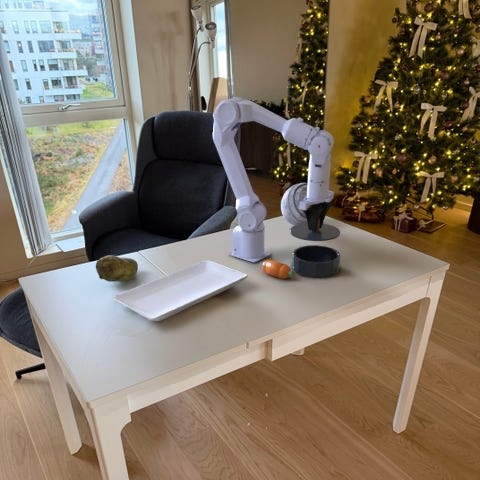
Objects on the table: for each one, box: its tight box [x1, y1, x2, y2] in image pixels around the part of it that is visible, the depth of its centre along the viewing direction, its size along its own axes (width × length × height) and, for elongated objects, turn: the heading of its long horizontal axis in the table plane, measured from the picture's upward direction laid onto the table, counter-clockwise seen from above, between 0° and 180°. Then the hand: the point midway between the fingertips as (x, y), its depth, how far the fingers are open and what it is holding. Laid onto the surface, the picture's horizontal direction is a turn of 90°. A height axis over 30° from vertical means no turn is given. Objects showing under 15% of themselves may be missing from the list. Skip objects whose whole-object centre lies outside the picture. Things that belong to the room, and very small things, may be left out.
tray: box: [113, 259, 249, 322], centre depth 113 cm, size 17×31×4 cm, turn 136°
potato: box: [95, 254, 139, 283], centre depth 121 cm, size 8×13×8 cm, turn 131°
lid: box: [289, 218, 341, 242], centre depth 126 cm, size 14×14×5 cm
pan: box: [291, 244, 342, 279], centre depth 127 cm, size 13×13×4 cm
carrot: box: [261, 259, 295, 280], centre depth 123 cm, size 10×4×4 cm, turn 50°
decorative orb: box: [280, 182, 308, 226], centre depth 157 cm, size 15×14×15 cm
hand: (314, 229), depth 126 cm, fingers closed on lid, 2 cm apart
